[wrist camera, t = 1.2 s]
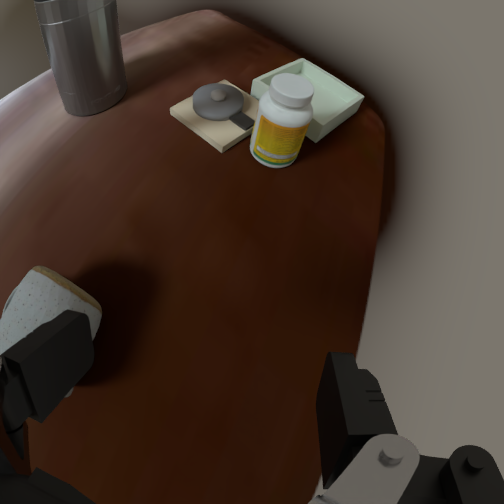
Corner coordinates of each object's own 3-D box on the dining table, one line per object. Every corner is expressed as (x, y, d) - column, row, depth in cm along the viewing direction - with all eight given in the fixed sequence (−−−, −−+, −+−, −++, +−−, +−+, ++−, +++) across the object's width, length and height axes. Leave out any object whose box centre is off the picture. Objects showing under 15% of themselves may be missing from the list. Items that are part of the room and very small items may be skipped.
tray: (249, 97, 37) (252, 79, 35) (297, 73, 42) (302, 57, 39) (315, 143, 36) (323, 125, 33) (356, 111, 40) (364, 96, 37)
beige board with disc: (170, 114, 35) (169, 96, 32) (223, 85, 38) (225, 68, 35) (222, 153, 33) (223, 135, 30) (275, 118, 36) (279, 101, 34)
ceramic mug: (119, 314, 25) (86, 285, 18) (83, 399, 21) (39, 399, 14) (33, 268, 25) (-9, 231, 18) (0, 341, 22) (-51, 322, 15)
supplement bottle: (243, 137, 34) (256, 68, 26) (287, 132, 36) (307, 68, 27) (257, 173, 32) (275, 103, 24) (303, 167, 34) (331, 102, 25)
